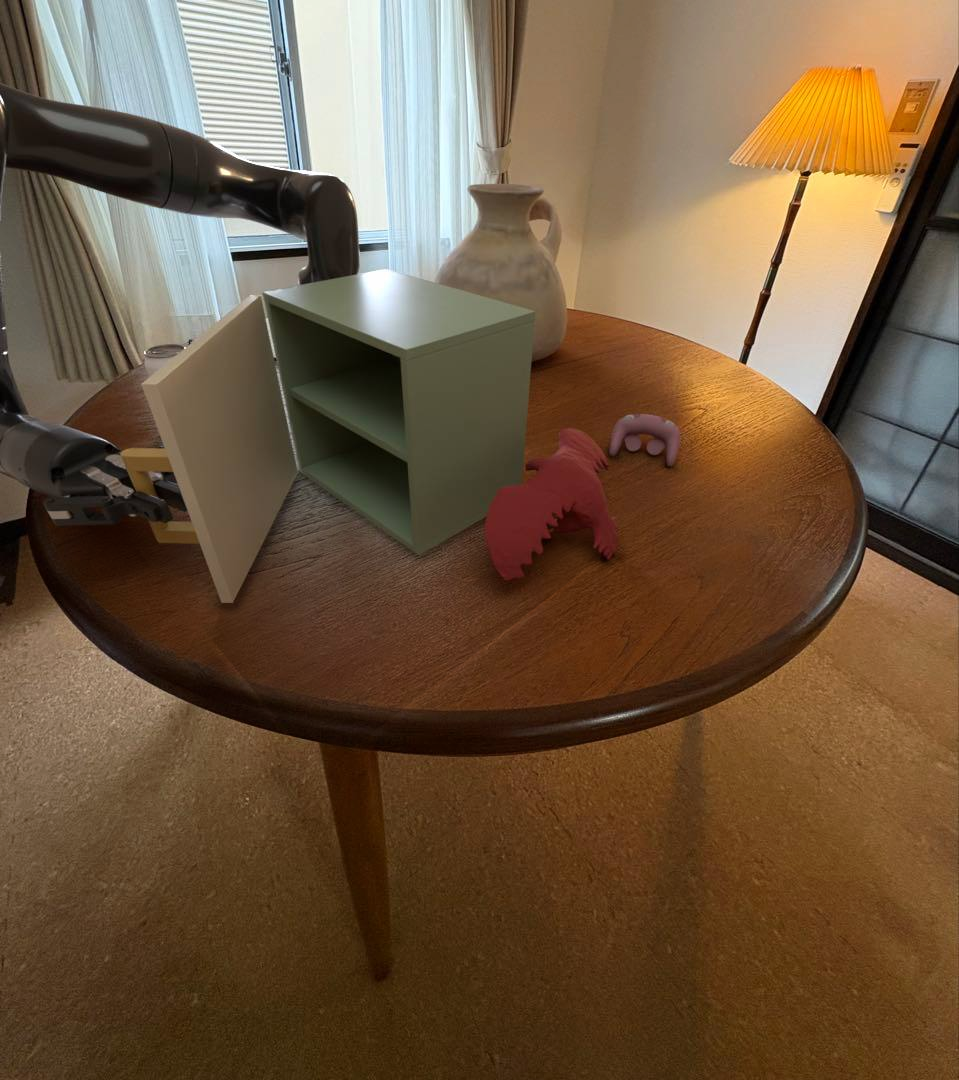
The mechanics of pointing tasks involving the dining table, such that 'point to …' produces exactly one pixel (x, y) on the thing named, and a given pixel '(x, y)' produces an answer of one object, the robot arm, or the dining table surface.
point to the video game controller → (648, 425)
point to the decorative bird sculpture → (551, 505)
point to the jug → (513, 259)
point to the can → (160, 356)
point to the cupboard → (404, 397)
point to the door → (221, 443)
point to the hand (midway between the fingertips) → (176, 507)
